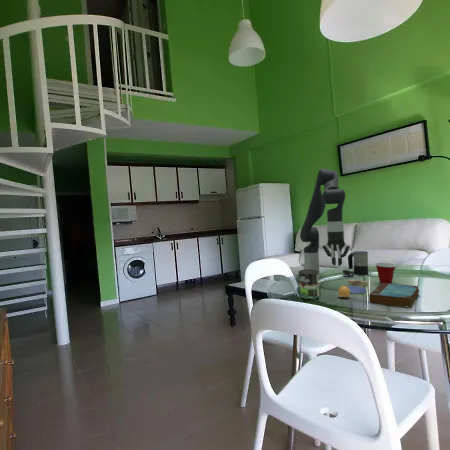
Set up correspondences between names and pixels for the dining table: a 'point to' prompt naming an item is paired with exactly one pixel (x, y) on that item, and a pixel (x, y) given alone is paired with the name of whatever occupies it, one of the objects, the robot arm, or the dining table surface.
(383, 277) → the plastic cup
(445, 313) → the dining table surface
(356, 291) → the disc
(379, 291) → the book
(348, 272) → the milk frother
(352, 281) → the stopper bar
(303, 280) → the coffee can
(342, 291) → the ball
